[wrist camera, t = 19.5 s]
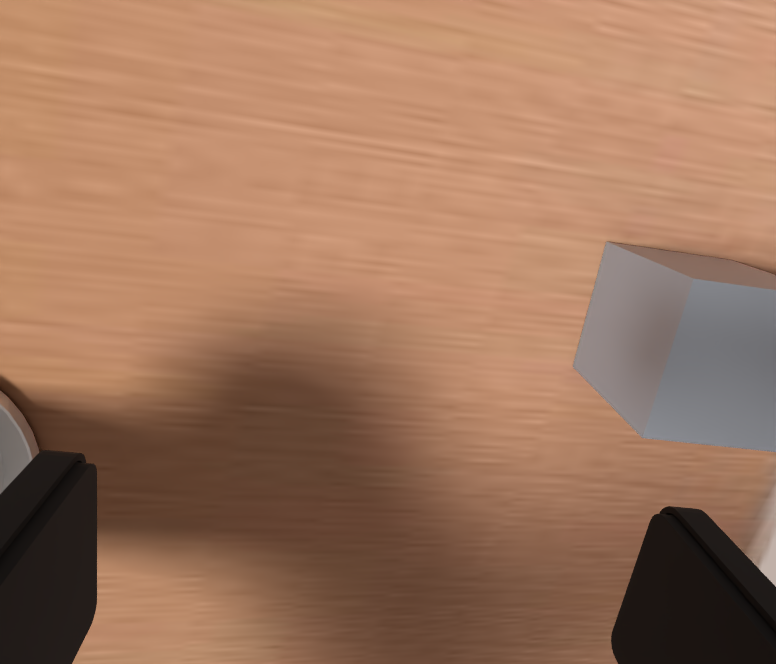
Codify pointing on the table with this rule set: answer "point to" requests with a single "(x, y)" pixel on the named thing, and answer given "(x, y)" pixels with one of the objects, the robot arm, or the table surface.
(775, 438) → the gray foam cube
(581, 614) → the table surface
